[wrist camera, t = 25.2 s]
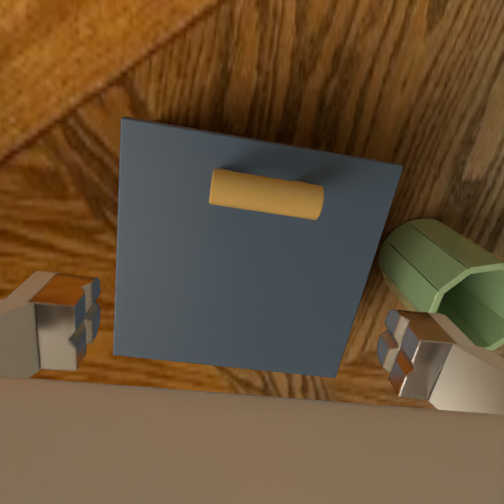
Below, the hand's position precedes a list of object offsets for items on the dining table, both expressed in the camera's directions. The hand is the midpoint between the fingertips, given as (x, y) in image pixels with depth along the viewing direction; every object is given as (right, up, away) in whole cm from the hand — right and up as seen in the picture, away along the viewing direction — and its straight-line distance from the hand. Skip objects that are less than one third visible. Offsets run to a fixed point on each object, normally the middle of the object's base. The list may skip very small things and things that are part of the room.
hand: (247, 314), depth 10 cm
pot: (+13, +2, +20) cm, 24 cm away
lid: (0, +1, +12) cm, 12 cm away
